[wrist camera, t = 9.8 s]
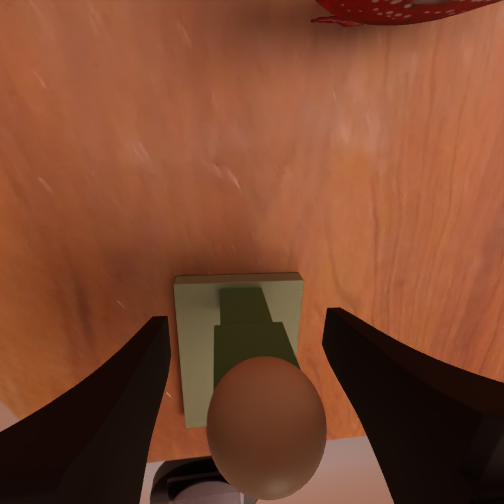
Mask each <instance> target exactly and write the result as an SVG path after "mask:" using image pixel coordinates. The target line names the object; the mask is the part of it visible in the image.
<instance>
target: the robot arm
mask: <svg viewBox="0 0 504 504" xmlns="http://www.w3.org/2000/svg"><path fill="white" fill-rule="evenodd" d="M322 346H323V349H324V351H325V354H326V356H327V359H328V361H329V364H330V366H331V368H332V370H333V371H334V373H335V375H336V377H337V379H338V381H339V382H340V384H341V386H342V388H343V390H344V391H345V393H346V395H347V397H348V399H349V400H350V402H351V404H352V406H353V407H354V409H355V411H356V413H357V415H358V417H359V419H360V421H361V423H362V426H363V428H364V430H365V432H366V435H367V437H368V439H369V441H370V444H371V446H372V448H373V451H374V453H375V456H376V458H377V460H378V463H379V465H380V468H381V470H382V473H383V475H384V478H385V480H386V483H387V486H388V488H389V491H390V494H391V496H392V499H393V501H394V504H504V383H502V382H499V381H496V380H493V379H489V378H486V377H483V376H480V375H477V374H474V373H471V372H468V371H466V370H463V369H460V368H457V367H455V366H452V365H450V364H447V363H445V362H442V361H440V360H437V359H435V358H432V357H430V356H428V355H426V354H424V353H421V352H419V351H417V350H415V349H413V348H411V347H409V346H407V345H405V344H403V343H401V342H399V341H397V340H395V339H393V338H392V337H390V336H388V335H386V334H384V333H383V332H381V331H379V330H378V329H376V328H374V327H372V326H371V325H369V324H367V323H366V322H364V321H362V320H361V319H359V318H358V317H356V316H354V315H353V314H351V313H349V312H347V311H346V310H344V309H342V308H340V307H339V308H327V313H326V319H325V326H324V333H323V340H322ZM170 359H171V347H170V337H169V327H168V317H167V316H155V317H152V318H151V319H150V320H149V321H148V322H147V323H146V324H145V325H144V326H143V327H142V328H141V329H140V330H139V331H138V332H137V333H136V334H135V335H134V336H133V337H132V338H131V339H130V340H129V341H128V342H127V343H126V344H125V345H124V346H123V347H122V348H121V349H120V350H119V351H118V352H117V353H115V354H114V355H113V356H112V357H111V358H110V359H109V360H108V361H107V362H105V363H104V364H103V365H102V366H101V367H99V368H98V369H97V370H96V371H94V372H93V373H92V374H91V375H89V376H88V377H87V378H85V379H84V380H83V381H81V382H80V383H79V384H77V385H76V386H74V387H73V388H71V389H70V390H68V391H67V392H65V393H64V394H62V395H61V396H59V397H58V398H56V399H55V400H53V401H52V402H50V403H49V404H47V405H46V406H44V407H43V408H41V409H39V410H38V411H36V412H34V413H33V414H31V415H29V416H28V417H26V418H24V419H23V420H21V421H19V422H17V423H16V424H14V425H12V426H10V427H9V428H7V429H5V430H3V431H1V432H0V504H139V503H140V497H141V491H142V485H143V479H144V473H145V468H146V462H147V457H148V451H149V446H150V441H151V437H152V433H153V429H154V426H155V422H156V418H157V415H158V411H159V408H160V404H161V400H162V397H163V393H164V389H165V386H166V382H167V378H168V373H169V366H170ZM167 492H168V499H169V504H244V494H243V493H241V492H240V491H238V490H237V489H235V488H234V487H233V486H232V485H231V484H229V482H228V481H227V480H226V479H225V478H224V477H223V475H222V474H221V473H220V471H216V472H208V473H200V474H192V475H184V476H177V477H170V478H168V480H167Z"/></svg>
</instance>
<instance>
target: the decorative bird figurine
mask: <svg viewBox="0 0 504 504" xmlns="http://www.w3.org/2000/svg"><path fill="white" fill-rule="evenodd" d="M316 1H317V2H318V3H319V4H320V5H321V6H323V7H324V8H325V9H326V10H327V11H329V12H330V13H332V14H334V15H336V16H330V17H319V18H317V19H312V20H311V21H310V22H325V23H338V24H340V25H342V26H344V27H350V26H360V25H364V24H367V25H408V24H415V23H422V22H428V21H433V20H438V19H442V18H446V17H449V16H453V15H457V14H460V13H464V12H467V11H470V10H473V9H476V8H480V7H483V6H486V5H489V4H492V3H496V2H499V1H503V0H316Z"/></svg>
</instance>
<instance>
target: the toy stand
mask: <svg viewBox="0 0 504 504" xmlns="http://www.w3.org/2000/svg"><path fill="white" fill-rule="evenodd" d="M173 286H174V297H175V309H176V321H177V333H178V345H179V357H180V368H181V380H182V392H183V404H184V416H185V428H194V427H203V426H206V424H207V412H208V408H209V404H210V400H211V398H212V395H213V378H214V326H215V325H220V289H232V288H260V287H261V288H262V290H263V293H264V296H265V299H266V302H267V305H268V308H269V311H270V314H271V317H272V320H273V322H283V325H284V328H285V330H286V333H287V335H288V338H289V341H290V343H291V346H292V349H293V351H294V354H295V356H296V351H297V342H298V333H299V323H300V314H301V304H302V295H303V286H304V279H303V278H302V277H301V275H300V274H299V273H264V274H231V275H197V276H176V279H175V282H174V285H173Z"/></svg>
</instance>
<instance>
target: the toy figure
mask: <svg viewBox="0 0 504 504" xmlns="http://www.w3.org/2000/svg"><path fill="white" fill-rule="evenodd" d="M206 428H207V439H208V445H209V449H210V452H211V455H212V458H213V460H214V462H215V464H216V466H217V468H218V470H219V471H220V473H221V474H222V475H223V477H224V478H225V479H226V480H227V481H228V482H229V484H231V485H232V486H233V487H234V488H235V489H237V490H238V491H240V492H241V493H243V494H245V495H247V496H249V497H252V498H256V499H261V500H276V499H281V498H284V497H287V496H289V495H291V494H293V493H295V492H296V491H298V490H299V489H301V488H302V487H303V486H304V485H305V484H306V483H307V482H308V481H309V480H310V479H311V477H312V476H313V475H314V473H315V471H316V469H317V468H318V466H319V464H320V461H321V459H322V456H323V453H324V448H325V444H326V433H327V428H326V417H325V412H324V408H323V404H322V401H321V398H320V396H319V394H318V392H317V390H316V388H315V387H314V385H313V384H312V382H311V381H310V380H309V378H308V377H307V376H306V375H305V374H304V373H303V372H302V371H301V369H300V367H299V364H298V362H297V359H296V356H295V354H294V351H293V349H292V346H291V343H290V341H289V338H288V335H287V333H286V330H285V328H284V325H283V322H273V320H272V317H271V314H270V311H269V308H268V305H267V302H266V299H265V296H264V293H263V290H262V288H261V287H260V288H232V289H220V325H215V326H214V378H213V395H212V398H211V400H210V404H209V408H208V412H207V424H206Z"/></svg>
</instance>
